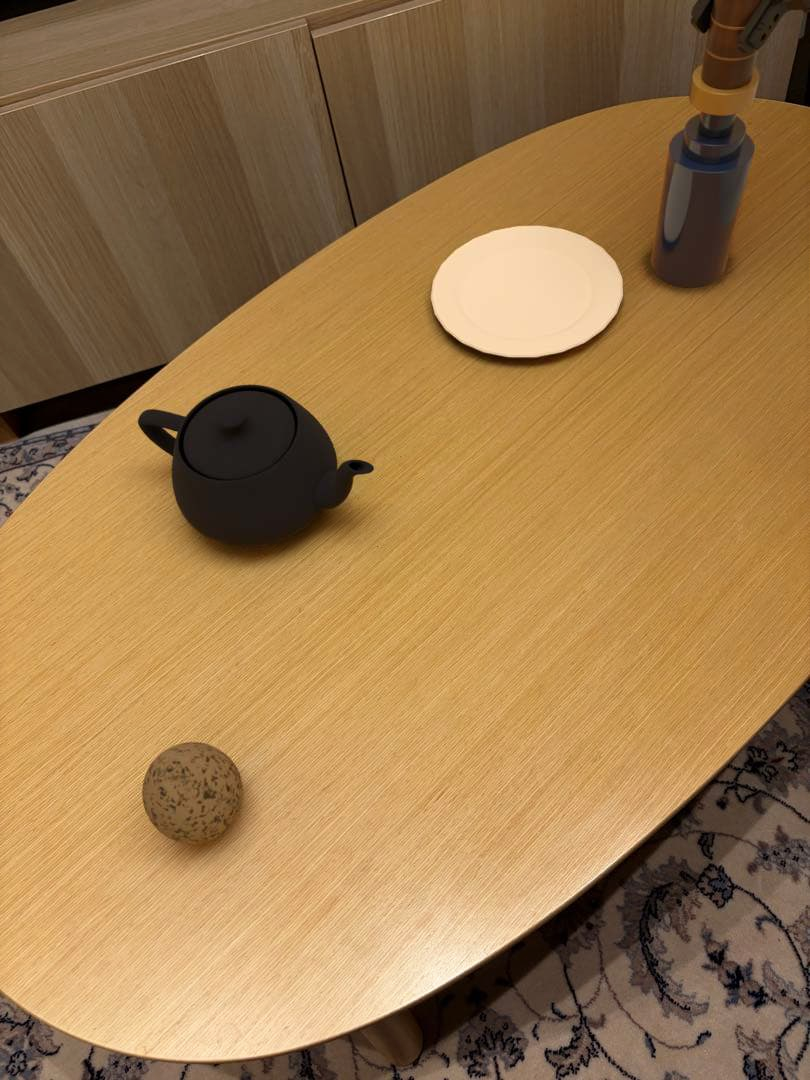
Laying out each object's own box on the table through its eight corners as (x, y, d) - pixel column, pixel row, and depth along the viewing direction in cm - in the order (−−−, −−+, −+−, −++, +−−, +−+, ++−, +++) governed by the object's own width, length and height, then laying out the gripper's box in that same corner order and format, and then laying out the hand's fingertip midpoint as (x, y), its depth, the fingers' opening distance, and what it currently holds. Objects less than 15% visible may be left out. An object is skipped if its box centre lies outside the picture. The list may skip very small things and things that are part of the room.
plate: (546, 212, 103) (546, 200, 102) (662, 309, 92) (665, 297, 91) (397, 287, 99) (395, 275, 97) (501, 397, 88) (500, 386, 87)
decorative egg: (265, 834, 67) (228, 798, 59) (176, 869, 66) (127, 837, 58) (243, 751, 71) (206, 705, 63) (159, 783, 70) (111, 741, 62)
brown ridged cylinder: (756, 88, 77) (778, -8, 70) (703, 91, 77) (720, -3, 71) (748, 60, 79) (769, -36, 72) (697, 64, 80) (713, -31, 73)
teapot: (125, 525, 85) (71, 447, 75) (204, 409, 92) (164, 323, 82) (353, 600, 77) (327, 525, 67) (420, 468, 84) (406, 382, 74)
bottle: (739, 254, 96) (788, 65, 78) (703, 297, 93) (746, 111, 75) (674, 230, 99) (707, 43, 81) (637, 271, 96) (663, 86, 78)
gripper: (772, -235, 68) (640, -10, 75) (933, -193, 61) (771, 51, 68) (800, -175, 73) (675, 29, 81) (951, -130, 66) (799, 89, 74)
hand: (720, 38), depth 74 cm, fingers closed on brown ridged cylinder, 4 cm apart
